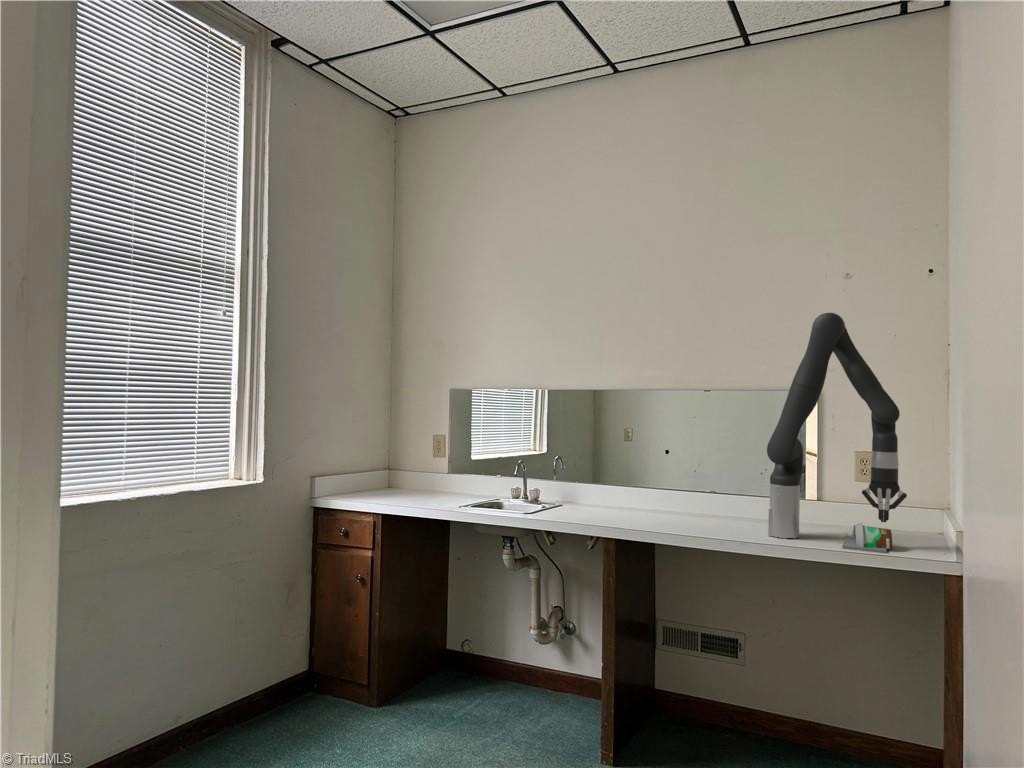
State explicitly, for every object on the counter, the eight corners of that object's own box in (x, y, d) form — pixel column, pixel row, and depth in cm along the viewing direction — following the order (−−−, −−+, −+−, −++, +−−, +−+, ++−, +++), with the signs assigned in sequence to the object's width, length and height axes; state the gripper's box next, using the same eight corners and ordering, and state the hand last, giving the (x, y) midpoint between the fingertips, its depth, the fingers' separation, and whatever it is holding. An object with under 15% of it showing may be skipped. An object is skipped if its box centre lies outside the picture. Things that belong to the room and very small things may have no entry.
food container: (893, 529, 213) (856, 526, 216) (893, 550, 213) (856, 546, 216) (888, 522, 224) (853, 519, 228) (887, 541, 224) (852, 538, 228)
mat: (842, 548, 218) (842, 545, 218) (845, 538, 232) (845, 535, 232) (886, 553, 212) (886, 550, 212) (886, 542, 226) (886, 540, 226)
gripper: (860, 465, 219) (859, 521, 220) (909, 468, 213) (908, 526, 213) (861, 463, 226) (860, 517, 226) (908, 466, 220) (907, 521, 220)
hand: (883, 521), depth 220 cm, fingers closed
